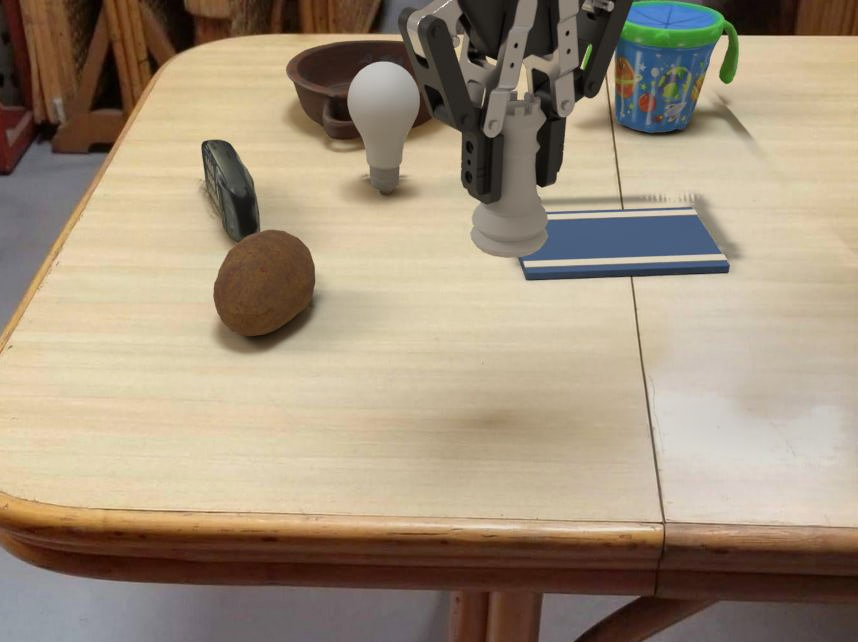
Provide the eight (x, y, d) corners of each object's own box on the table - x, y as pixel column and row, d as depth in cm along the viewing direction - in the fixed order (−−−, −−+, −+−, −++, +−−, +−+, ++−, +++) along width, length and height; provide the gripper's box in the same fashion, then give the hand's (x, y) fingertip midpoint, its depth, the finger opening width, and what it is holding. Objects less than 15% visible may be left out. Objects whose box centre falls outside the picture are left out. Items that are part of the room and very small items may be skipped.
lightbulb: (408, 175, 98) (408, 49, 91) (427, 202, 94) (429, 71, 87) (344, 182, 97) (339, 55, 90) (359, 210, 93) (355, 78, 86)
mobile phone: (194, 136, 93) (231, 198, 82) (228, 132, 94) (269, 193, 83) (201, 192, 96) (238, 259, 85) (234, 187, 97) (275, 253, 86)
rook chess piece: (465, 258, 60) (469, 113, 54) (473, 223, 63) (477, 83, 58) (546, 262, 59) (558, 116, 54) (549, 227, 63) (560, 85, 57)
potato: (196, 344, 76) (183, 262, 72) (252, 282, 83) (244, 204, 79) (281, 359, 74) (274, 276, 70) (332, 294, 81) (328, 216, 77)
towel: (690, 213, 92) (692, 205, 92) (728, 272, 84) (730, 264, 83) (506, 219, 91) (506, 211, 91) (526, 280, 83) (526, 271, 83)
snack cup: (708, 100, 113) (727, -5, 106) (745, 137, 105) (769, 26, 98) (563, 108, 111) (574, 2, 105) (591, 146, 103) (604, 33, 97)
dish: (473, 84, 117) (475, 35, 114) (438, 160, 101) (439, 106, 98) (319, 74, 120) (316, 26, 117) (261, 147, 104) (256, 93, 101)
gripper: (454, -157, 42) (447, 249, 54) (707, -192, 48) (653, 182, 60) (354, -179, 47) (367, 198, 59) (595, -209, 53) (565, 141, 64)
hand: (511, 188), depth 59 cm, fingers closed on rook chess piece, 3 cm apart
